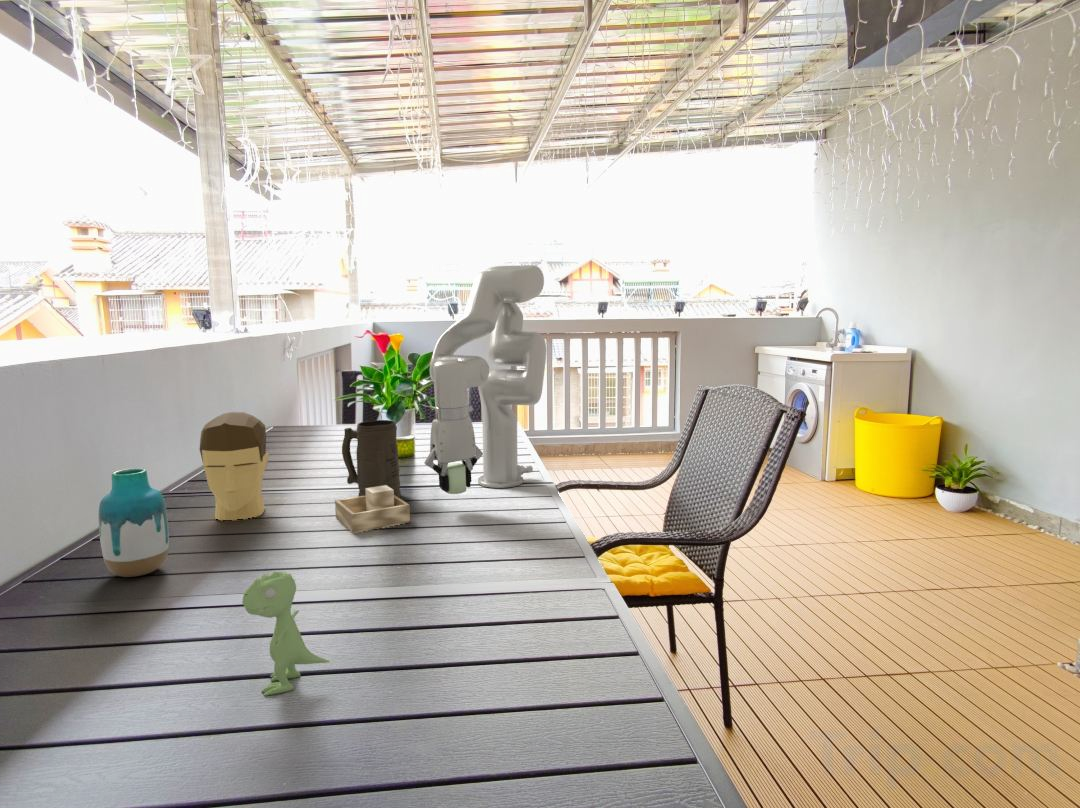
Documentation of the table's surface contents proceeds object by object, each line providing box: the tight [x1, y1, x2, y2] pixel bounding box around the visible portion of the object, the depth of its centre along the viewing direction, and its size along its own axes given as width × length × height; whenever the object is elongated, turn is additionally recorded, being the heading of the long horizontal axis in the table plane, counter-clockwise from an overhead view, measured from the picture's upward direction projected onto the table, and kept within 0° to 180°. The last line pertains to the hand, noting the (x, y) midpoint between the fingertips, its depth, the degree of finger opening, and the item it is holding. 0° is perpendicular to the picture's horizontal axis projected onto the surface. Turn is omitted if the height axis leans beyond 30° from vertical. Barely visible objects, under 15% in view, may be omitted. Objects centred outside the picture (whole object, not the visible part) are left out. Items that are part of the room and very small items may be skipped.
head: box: [199, 411, 270, 521], centre depth 152 cm, size 14×21×25 cm, turn 17°
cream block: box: [365, 485, 394, 511], centre depth 153 cm, size 5×5×6 cm
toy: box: [242, 571, 331, 697], centre depth 84 cm, size 7×8×15 cm
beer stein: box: [341, 419, 402, 498], centre depth 168 cm, size 15×11×20 cm
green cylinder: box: [445, 462, 467, 495], centre depth 156 cm, size 5×5×6 cm
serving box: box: [334, 495, 411, 535], centre depth 150 cm, size 13×13×4 cm
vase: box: [98, 468, 170, 578], centre depth 119 cm, size 11×11×19 cm
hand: (455, 487), depth 156 cm, fingers closed on green cylinder, 4 cm apart
